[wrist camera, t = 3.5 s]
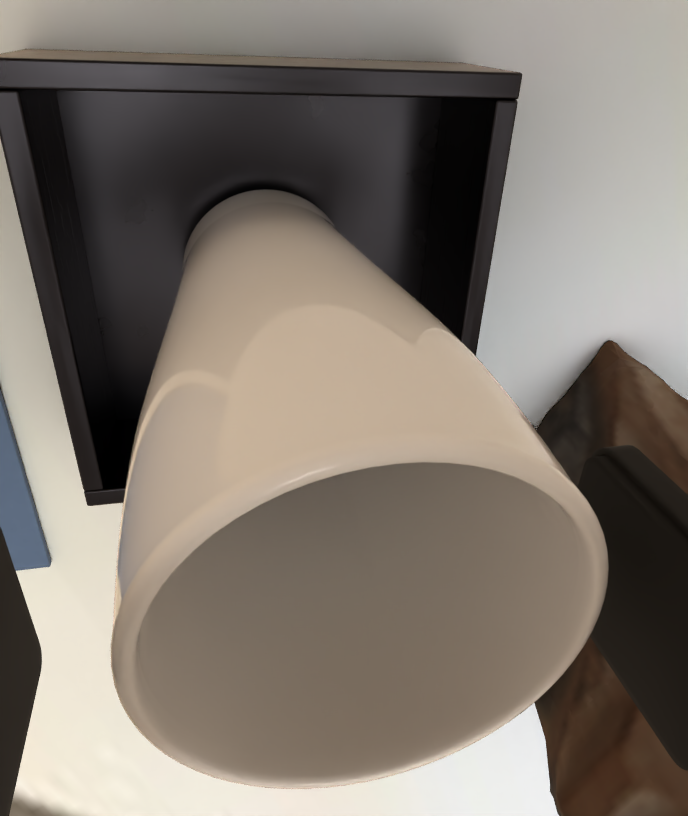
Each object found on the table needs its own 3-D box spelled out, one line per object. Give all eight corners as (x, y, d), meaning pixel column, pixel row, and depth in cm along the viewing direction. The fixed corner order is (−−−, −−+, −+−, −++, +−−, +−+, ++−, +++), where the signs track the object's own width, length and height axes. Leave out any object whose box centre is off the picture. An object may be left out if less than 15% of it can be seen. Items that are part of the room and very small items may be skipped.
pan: (26, 48, 16) (-20, 56, 13) (460, 62, 19) (523, 72, 15) (103, 431, 23) (86, 507, 19) (420, 406, 25) (457, 469, 22)
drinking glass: (318, 380, 23) (464, 800, 11) (133, 325, 21) (45, 793, 8) (398, 209, 20) (721, 507, 8) (196, 121, 18) (206, 358, 5)
